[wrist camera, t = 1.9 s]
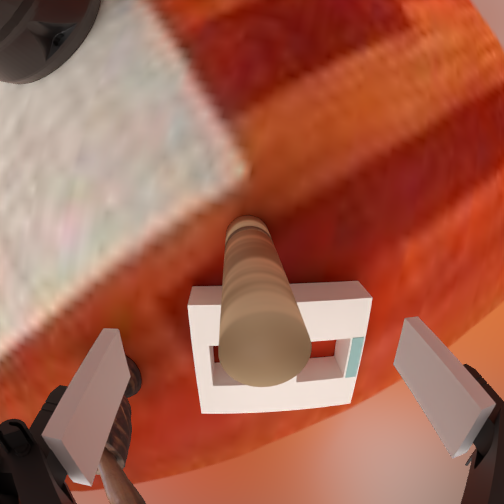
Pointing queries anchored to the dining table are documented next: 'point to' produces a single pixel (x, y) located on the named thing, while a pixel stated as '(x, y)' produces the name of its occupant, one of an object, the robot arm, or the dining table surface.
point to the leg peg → (258, 310)
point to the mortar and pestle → (120, 448)
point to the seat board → (316, 370)
